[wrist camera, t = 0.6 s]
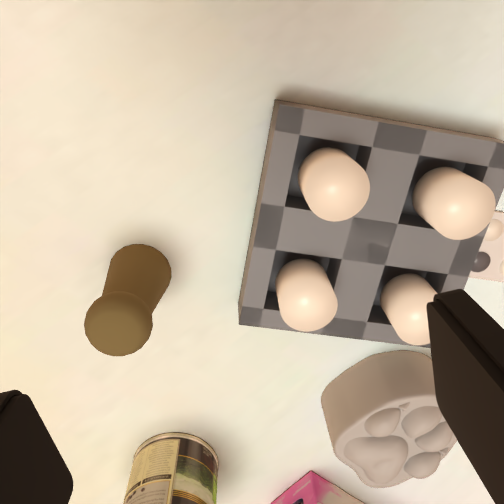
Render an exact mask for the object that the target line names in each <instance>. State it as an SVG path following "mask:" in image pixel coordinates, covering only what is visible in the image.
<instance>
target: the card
mask: <svg viewBox="0 0 504 504" xmlns="http://www.w3.org/2000/svg"><path fill="white" fill-rule="evenodd" d="M469 277H470V278H477V279H484V280H491V281H498V282H504V212H499V211H495V212H494V215H493V217H492V219H491V221H490V224H489V226H488V229H487V231H486V234H485V236H484V239H483V241H482V244H481V247H480V249H479V252H478V254H477V257H476V259H475V262H474V264H473V267H472V269H471V272H470V274H469Z"/></svg>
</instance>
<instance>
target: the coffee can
mask: <svg viewBox="0 0 504 504" xmlns="http://www.w3.org/2000/svg"><path fill="white" fill-rule="evenodd" d="M217 472H218V459H217V456H216V454H215V452H214V450H213V449H212V448H211V447H210V445H208V444H207V443H206V442H205V441H203V440H201V439H200V438H198V437H196V436H193V435H189V434H185V433H165V434H161V435H157V436H155V437H152V438H150V439H148V440H147V441H145V442H144V443H143V444H142V445H141V446H140V447H139V448H138V450H137V451H136V453H135V456H134V459H133V466H132V470H131V474H130V478H129V482H128V486H127V491H126V495H125V499H124V503H123V504H216V494H217Z"/></svg>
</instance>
